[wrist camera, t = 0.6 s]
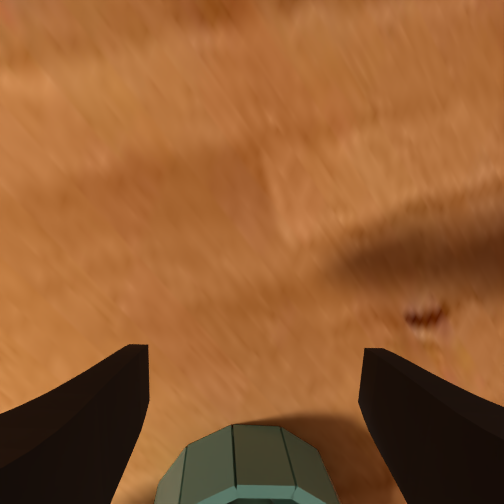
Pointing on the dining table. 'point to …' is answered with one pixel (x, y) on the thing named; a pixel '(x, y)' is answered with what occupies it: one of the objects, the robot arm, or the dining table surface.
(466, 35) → the dining table surface
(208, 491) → the green pot
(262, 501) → the birch dowel
